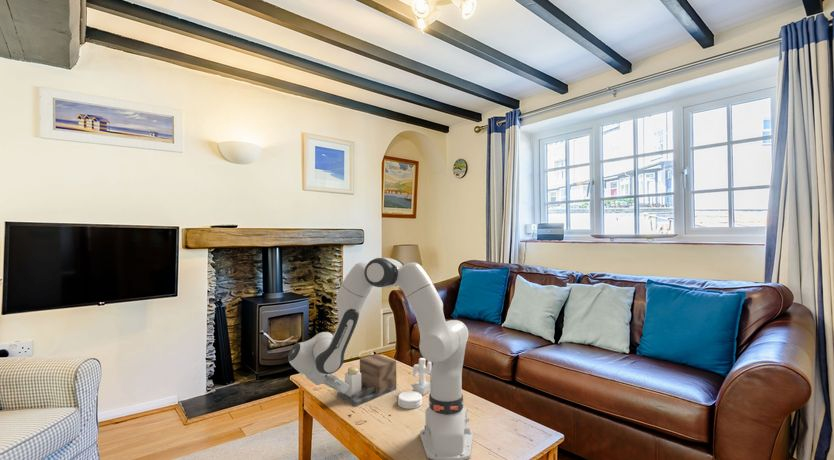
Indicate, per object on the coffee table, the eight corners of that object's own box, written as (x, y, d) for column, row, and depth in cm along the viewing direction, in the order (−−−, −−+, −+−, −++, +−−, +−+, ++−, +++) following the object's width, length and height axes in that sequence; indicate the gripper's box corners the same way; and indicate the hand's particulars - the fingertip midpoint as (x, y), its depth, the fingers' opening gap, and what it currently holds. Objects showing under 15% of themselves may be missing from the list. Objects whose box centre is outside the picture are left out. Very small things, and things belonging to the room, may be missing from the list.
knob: (351, 397, 159) (351, 371, 159) (345, 394, 162) (344, 368, 162) (361, 393, 162) (361, 368, 162) (354, 390, 166) (354, 365, 166)
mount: (356, 406, 155) (356, 374, 155) (337, 396, 165) (336, 366, 165) (396, 389, 171) (396, 360, 171) (376, 380, 181) (376, 353, 181)
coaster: (423, 398, 161) (423, 390, 161) (420, 410, 151) (420, 401, 151) (400, 398, 162) (399, 390, 162) (396, 409, 152) (396, 400, 152)
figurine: (418, 386, 173) (418, 354, 173) (435, 391, 168) (435, 358, 168) (409, 392, 168) (408, 358, 168) (426, 397, 162) (425, 363, 162)
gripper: (339, 372, 145) (359, 389, 152) (311, 359, 159) (331, 376, 166) (329, 387, 142) (350, 404, 149) (302, 373, 156) (322, 389, 163)
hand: (340, 389), depth 158 cm, fingers closed
